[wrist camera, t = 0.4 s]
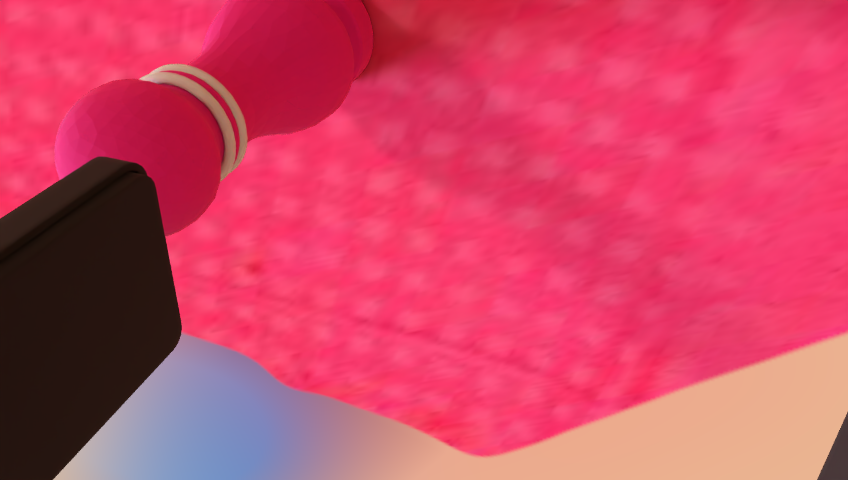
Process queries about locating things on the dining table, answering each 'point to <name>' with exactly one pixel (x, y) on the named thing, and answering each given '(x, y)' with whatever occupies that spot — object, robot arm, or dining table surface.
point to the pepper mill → (222, 98)
